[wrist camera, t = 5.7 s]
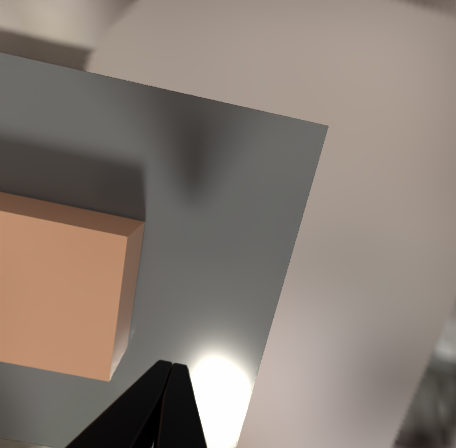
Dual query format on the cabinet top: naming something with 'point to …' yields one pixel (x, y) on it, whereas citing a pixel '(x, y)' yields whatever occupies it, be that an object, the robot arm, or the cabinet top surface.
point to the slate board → (159, 231)
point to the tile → (66, 286)
